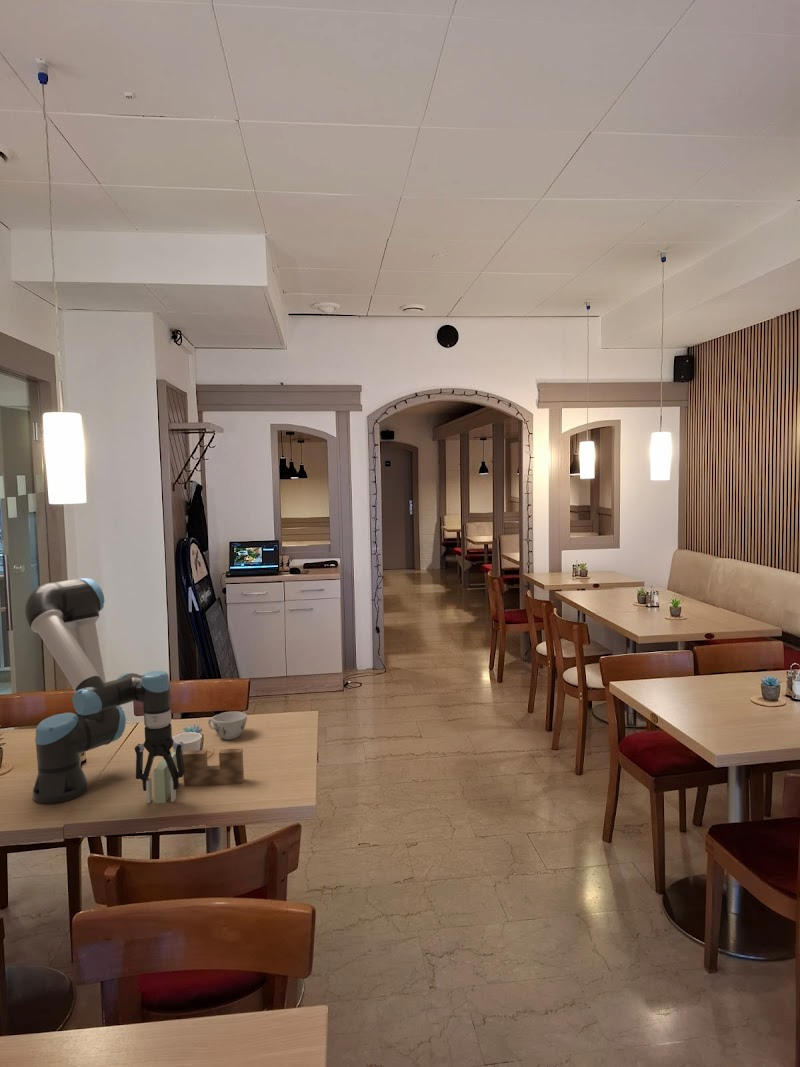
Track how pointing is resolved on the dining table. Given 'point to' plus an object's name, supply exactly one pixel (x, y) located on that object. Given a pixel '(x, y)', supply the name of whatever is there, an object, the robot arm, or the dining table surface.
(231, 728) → the teacup
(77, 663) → the robot arm
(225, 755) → the walnut board
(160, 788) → the green board
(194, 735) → the cup
